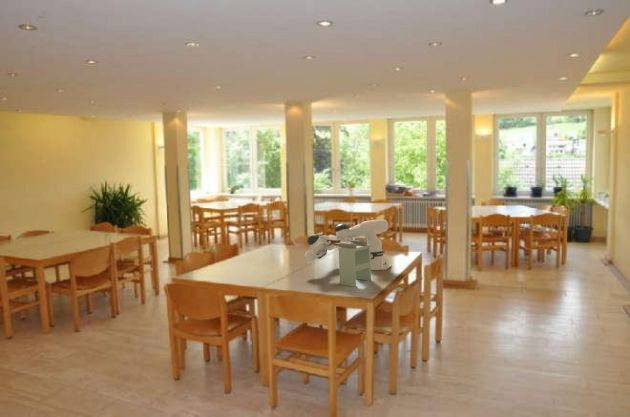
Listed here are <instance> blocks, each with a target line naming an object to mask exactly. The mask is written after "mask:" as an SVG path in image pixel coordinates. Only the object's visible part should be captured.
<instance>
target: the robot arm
mask: <svg viewBox="0 0 630 417" xmlns="http://www.w3.org/2000/svg"><path fill="white" fill-rule="evenodd" d="M388 230H389V222H388V221H387V220H386V219H382V218H379V219H371V220H365V221H362V222H360V223H358V224H356V225H355V224H354V225H353V226H352V227H350V225H347V224H346V223H339V224H337V225H336V226H335V227H334V232H335V235H334V234H333V235H327V234H324V233H321V234H318V233H313V234H311V235H310V236H308V238H307V240H306V242H307V244H308V245H309V247H310V248H309V250H307V251H306V252H305V253H304V259H305V260H306V261H307V262H309V263H311V262H314V261H315V260H320V259H322V258H323V257H325V256H326V255H327V253H328V251H332V250H334V249H336V248H338V246H335V245H334V244H331V243H332V242H331V241H329V242H327V239H335V240H340V242H341V241H345V242H351V240H353V239H358V237H366V240H367V244H369V245H370V256H371V271H384V270H385V271H386V270H387V269H389V268H391V267H393V265H392V264H390V263H389V258H388V257H387V256H385V255H384V254H385V253H386V251H385V250H383V245H382V244H383V243H382V242H383V241H382V240H381V239H380V238H379V237H378V236H377V235H378V234H382V233H385V232H387V231H388ZM352 238H353V239H352Z"/></svg>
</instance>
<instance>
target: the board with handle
mask: <svg viewBox="0 0 630 417" xmlns="http://www.w3.org/2000/svg"><path fill="white" fill-rule="evenodd" d="M329 241H331V242H332V243H331V244H334V245H335V246H337V247H340V243H351V244H355V243H354V242H345V241H341V242H340V240H335V239H327V242H329Z"/></svg>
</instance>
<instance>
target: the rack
mask: <svg viewBox="0 0 630 417" xmlns="http://www.w3.org/2000/svg"><path fill="white" fill-rule="evenodd" d="M357 239H358V240H357ZM357 239H356V240H355V239H352V240H351V242H354V243H355V244H351V243H340V246H338V247H337V248H338V267H339V268H338V273H339V274H338V275H339V285H344V286H350V287H356V286H357V280H362V281H368V282H371V281H372V270H371V256H370V245H369V244H367V239H366V237H358V238H357Z"/></svg>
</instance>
